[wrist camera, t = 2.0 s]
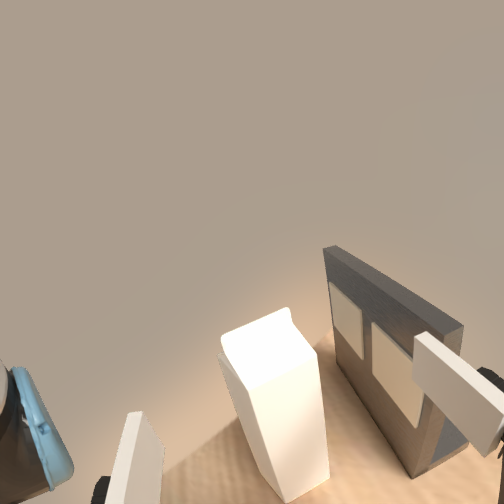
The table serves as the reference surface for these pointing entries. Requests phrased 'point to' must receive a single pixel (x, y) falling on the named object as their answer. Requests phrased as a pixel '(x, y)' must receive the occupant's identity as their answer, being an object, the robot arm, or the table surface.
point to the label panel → (390, 358)
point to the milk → (278, 402)
